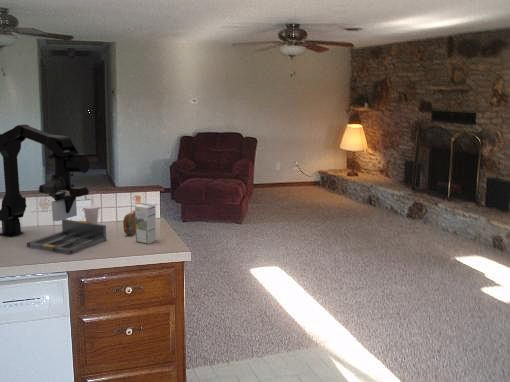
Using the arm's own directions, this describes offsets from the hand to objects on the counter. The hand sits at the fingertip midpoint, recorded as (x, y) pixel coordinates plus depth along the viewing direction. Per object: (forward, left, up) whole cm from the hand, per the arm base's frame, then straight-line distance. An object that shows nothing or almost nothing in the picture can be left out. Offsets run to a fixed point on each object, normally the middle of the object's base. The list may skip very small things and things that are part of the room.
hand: (64, 212), depth 203 cm
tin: (+13, +25, -12) cm, 31 cm away
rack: (+1, 0, -12) cm, 12 cm away
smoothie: (-4, +20, -12) cm, 24 cm away
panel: (0, 0, -2) cm, 2 cm away
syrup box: (+25, +16, -12) cm, 32 cm away
